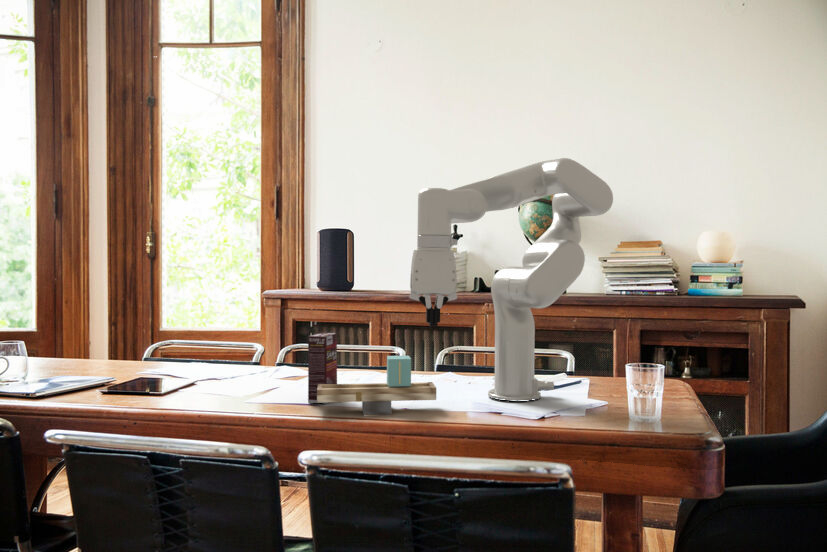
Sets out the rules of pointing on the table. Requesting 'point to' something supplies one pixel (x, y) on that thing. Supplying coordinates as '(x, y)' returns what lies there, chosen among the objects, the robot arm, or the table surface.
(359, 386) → the beam
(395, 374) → the block
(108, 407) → the table surface
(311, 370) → the supplement box
